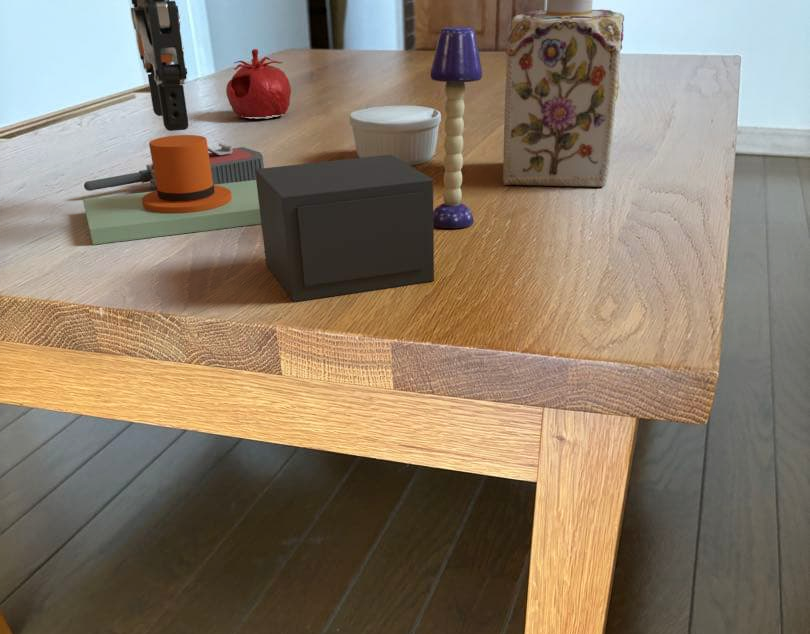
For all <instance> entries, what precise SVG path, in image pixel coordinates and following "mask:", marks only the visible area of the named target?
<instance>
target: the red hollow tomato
mask: <svg viewBox="0 0 810 634" xmlns="http://www.w3.org/2000/svg"><path fill="white" fill-rule="evenodd" d="M258 54H259V50H258V48H254V49H252V50H251V57H252V59H251V61H250V62H251V63H247V62H246V61H244V60H238V61H235V62H234V64H237V65H236V67H235V68H233V70H234V71H236V72H235V73H234V74H233V75H232V77H231V79H230V80H229V81H228V82H227V84H226V88H225V94H226V98H227V101H228V104H229V106H230V107H231V110H232V111H233V112H234V113H235V114H236V116H238V117H240V116H243V117H266V116H272V115H281V114H284V115H285V114H287V111H288V109H289V107H290V103H291V94H292V87H291V84H290V80H289V79H288V76H287V74H286V73H285V72H284V71H283V70H281V69H280V68H278V67H276V66H273V65H272V64H274V63H275V64H282V63H283V61H278V60H273V59H271V58H269V57H268V56H264V57H263V58H262V59H260V60H259V55H258ZM266 60H267V61H270V62H265V61H266ZM238 63H239V64H238Z"/></svg>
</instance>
